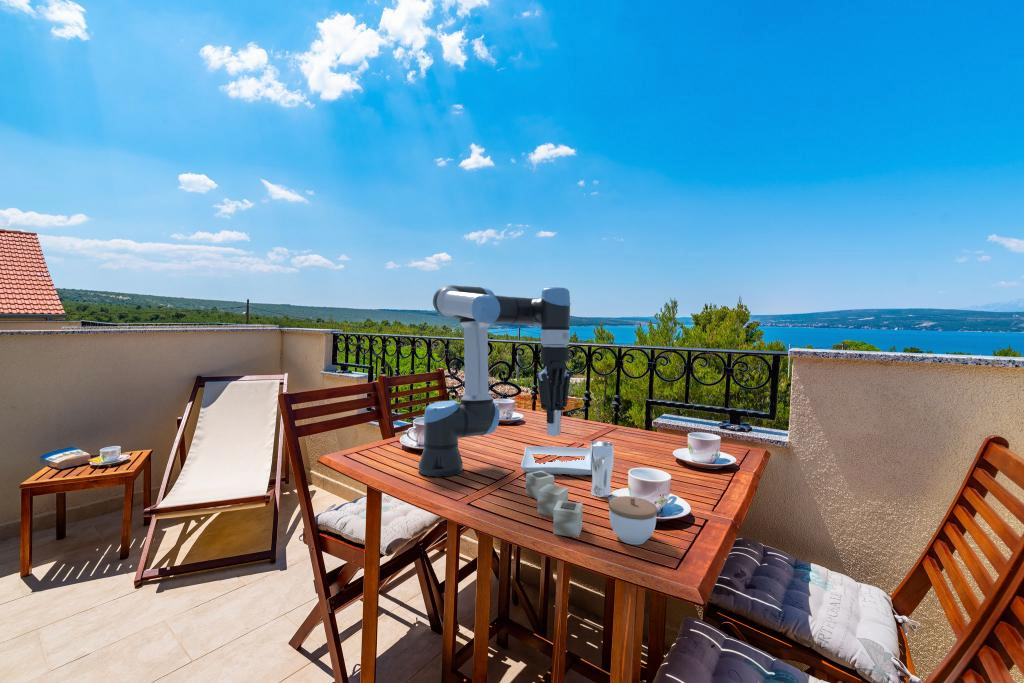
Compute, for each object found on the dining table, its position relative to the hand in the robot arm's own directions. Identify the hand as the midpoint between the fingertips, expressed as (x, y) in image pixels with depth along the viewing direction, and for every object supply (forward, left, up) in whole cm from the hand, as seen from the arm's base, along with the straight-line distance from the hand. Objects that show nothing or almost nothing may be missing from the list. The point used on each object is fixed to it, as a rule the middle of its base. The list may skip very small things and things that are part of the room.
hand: (553, 434), depth 108 cm
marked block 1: (-10, +7, -21) cm, 24 cm away
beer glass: (+3, +20, -21) cm, 29 cm away
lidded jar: (+22, +1, -21) cm, 30 cm away
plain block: (0, 0, -21) cm, 21 cm away
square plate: (-22, +34, -21) cm, 46 cm away
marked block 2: (+9, -6, -21) cm, 23 cm away
